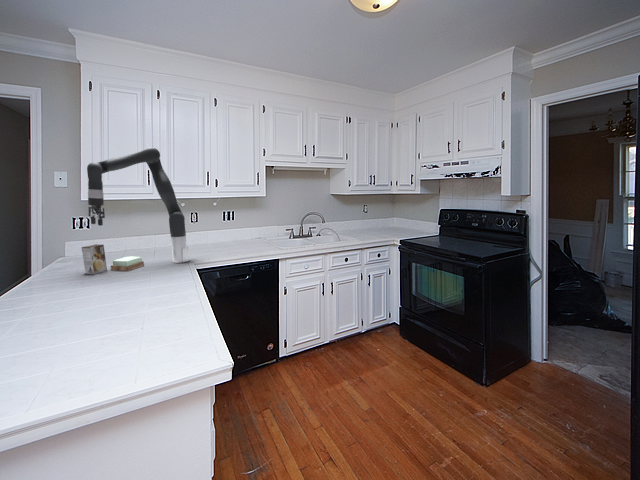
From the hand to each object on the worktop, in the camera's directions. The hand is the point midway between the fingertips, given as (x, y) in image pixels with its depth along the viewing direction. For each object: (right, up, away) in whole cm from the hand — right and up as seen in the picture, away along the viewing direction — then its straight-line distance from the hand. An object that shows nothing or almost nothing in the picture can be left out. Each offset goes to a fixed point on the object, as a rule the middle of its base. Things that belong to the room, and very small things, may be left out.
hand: (96, 224), depth 191 cm
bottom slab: (+14, -27, +8) cm, 32 cm away
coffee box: (0, -28, -1) cm, 28 cm away
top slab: (+14, -24, +8) cm, 29 cm away
